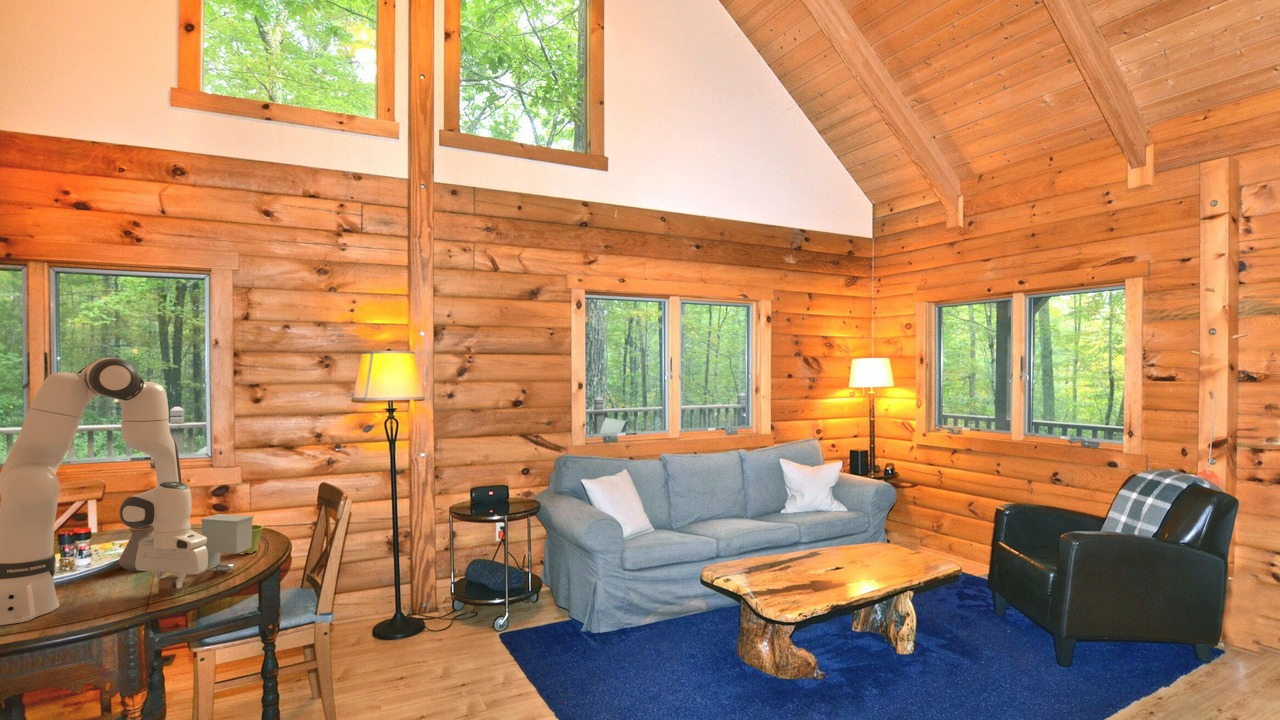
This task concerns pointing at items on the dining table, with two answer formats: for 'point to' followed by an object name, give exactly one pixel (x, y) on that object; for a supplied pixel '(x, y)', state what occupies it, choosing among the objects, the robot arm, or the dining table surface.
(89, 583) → the dining table surface
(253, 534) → the plant pot
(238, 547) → the grey cube on pedestal
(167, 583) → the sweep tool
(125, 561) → the coffee pot
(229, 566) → the steel token
